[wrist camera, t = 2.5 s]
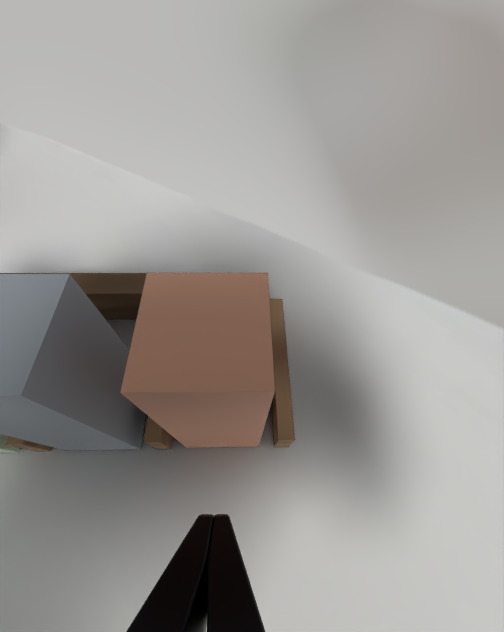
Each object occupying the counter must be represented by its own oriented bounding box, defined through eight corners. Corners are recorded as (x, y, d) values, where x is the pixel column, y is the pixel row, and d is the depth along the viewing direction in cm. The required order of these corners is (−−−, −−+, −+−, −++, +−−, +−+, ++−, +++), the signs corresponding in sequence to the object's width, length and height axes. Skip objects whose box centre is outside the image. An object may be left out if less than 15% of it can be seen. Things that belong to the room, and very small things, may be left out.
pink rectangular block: (258, 446, 16) (274, 390, 8) (186, 447, 16) (120, 392, 7) (256, 376, 18) (267, 272, 10) (192, 377, 18) (146, 272, 10)
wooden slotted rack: (288, 447, 16) (296, 437, 14) (-88, 453, 16) (-153, 445, 13) (277, 299, 21) (281, 273, 19) (-5, 300, 21) (-40, 273, 18)
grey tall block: (140, 449, 16) (21, 395, 7) (65, 450, 16) (-143, 397, 7) (152, 378, 18) (69, 273, 10) (86, 379, 18) (-57, 273, 9)
